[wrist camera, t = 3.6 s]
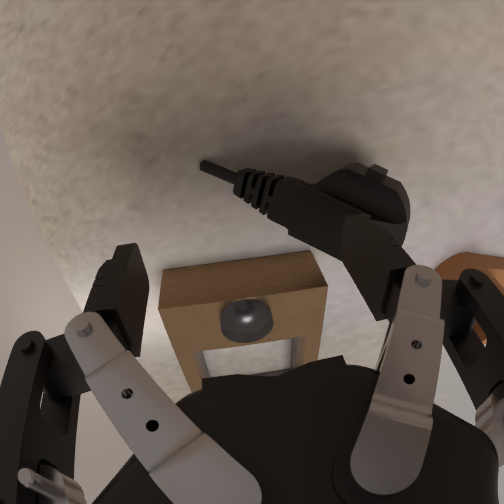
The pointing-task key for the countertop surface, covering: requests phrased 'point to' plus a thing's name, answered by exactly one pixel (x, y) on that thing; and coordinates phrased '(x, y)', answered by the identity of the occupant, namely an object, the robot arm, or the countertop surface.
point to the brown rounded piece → (494, 267)
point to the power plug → (323, 201)
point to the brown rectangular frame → (243, 307)
